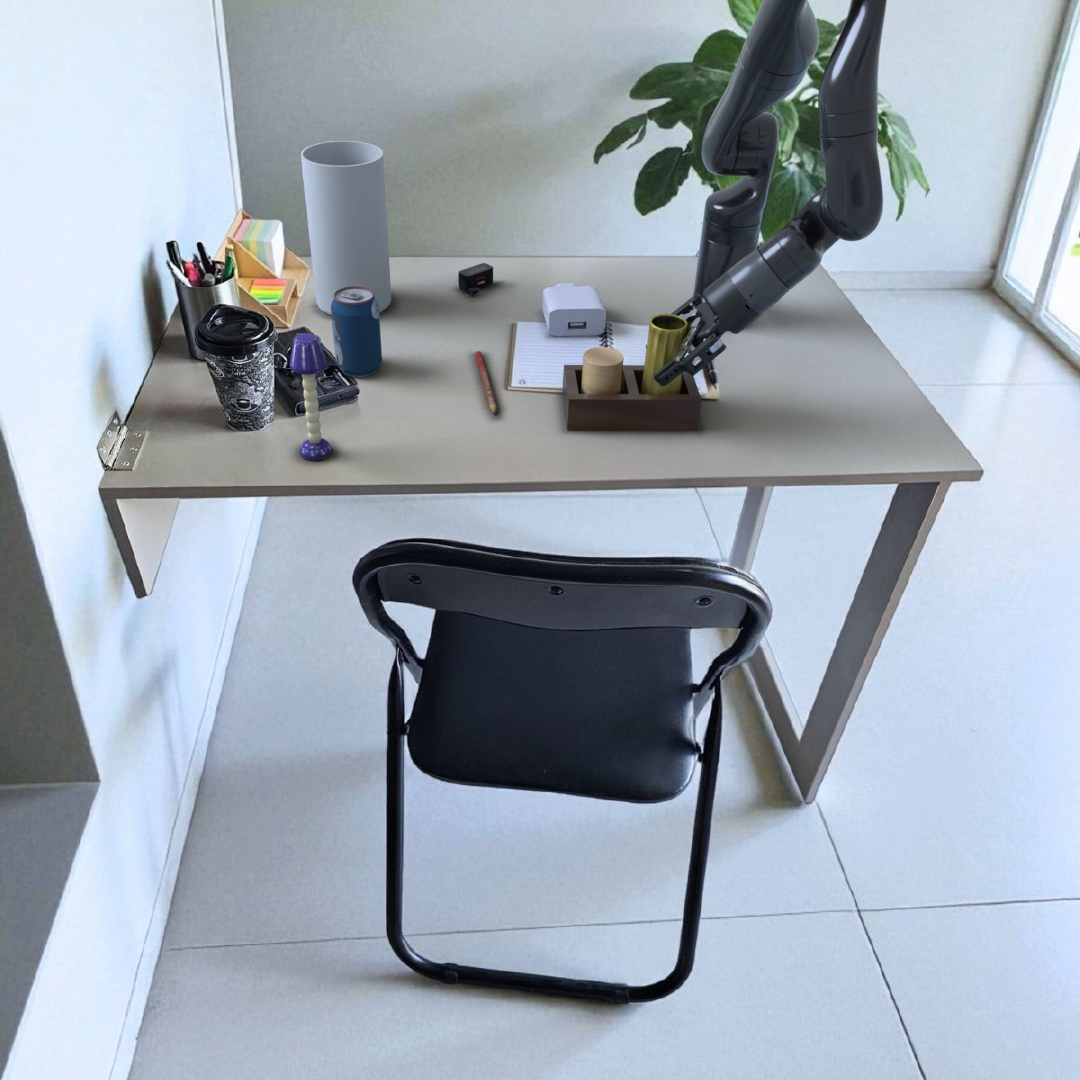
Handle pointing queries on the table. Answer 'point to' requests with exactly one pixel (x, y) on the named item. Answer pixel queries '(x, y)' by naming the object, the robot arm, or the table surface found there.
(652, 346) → the vase
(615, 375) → the peg
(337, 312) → the soda can
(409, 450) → the table surface
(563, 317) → the charger
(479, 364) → the pencil
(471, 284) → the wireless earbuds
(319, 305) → the cylinder vase
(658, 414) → the rack
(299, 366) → the toy lamp
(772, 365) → the table surface
